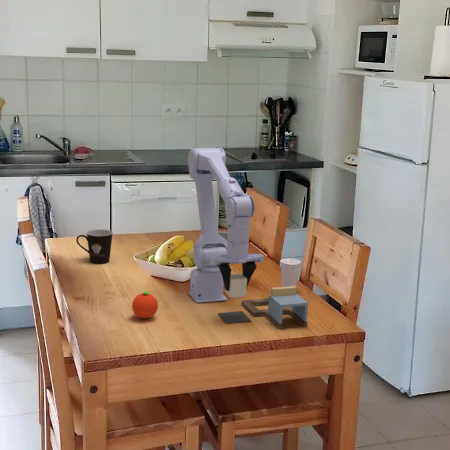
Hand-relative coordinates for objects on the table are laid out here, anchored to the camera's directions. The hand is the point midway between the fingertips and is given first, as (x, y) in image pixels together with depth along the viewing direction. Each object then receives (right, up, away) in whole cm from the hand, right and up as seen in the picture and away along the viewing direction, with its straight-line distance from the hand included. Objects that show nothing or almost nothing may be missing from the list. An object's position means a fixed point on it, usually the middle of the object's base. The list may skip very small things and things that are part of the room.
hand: (235, 288), depth 191 cm
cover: (+14, -8, 0) cm, 16 cm away
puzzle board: (+12, -8, +6) cm, 15 cm away
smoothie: (+17, -3, +25) cm, 30 cm away
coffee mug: (-47, +5, +48) cm, 67 cm away
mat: (0, -8, +2) cm, 8 cm away
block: (0, -1, 0) cm, 2 cm away
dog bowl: (-5, +8, +67) cm, 68 cm away
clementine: (-25, -8, 0) cm, 26 cm away
